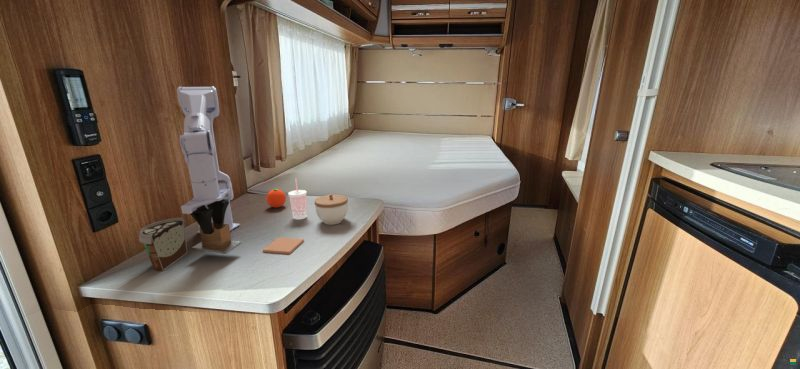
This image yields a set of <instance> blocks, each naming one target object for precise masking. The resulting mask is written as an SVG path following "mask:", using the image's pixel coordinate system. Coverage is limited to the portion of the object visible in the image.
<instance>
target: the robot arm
mask: <svg viewBox="0 0 800 369" xmlns="http://www.w3.org/2000/svg"><path fill="white" fill-rule="evenodd" d="M176 93H177V94H176V95H177V100H178V103H179V107H180V108H181V111H182V114H184V116H185V117H184V118H183V119H184V120H183V134H181V135H180V134H179V145H180V148H181V153H182V154H183V156H184V161H185V164H186V165H187V168H188V169H187V170H188V173H189V179H190V184H191V188H192V194H193V198H192V199H191V200H189V201H188V202H186V203H184V204H183V205H181V206H180V208H181V212H182V214H184V215H190V216H191V217H192V218H193V219H194V220H195V221H196V222H197V225H198V231H197V233H198V234H200V229H199V227H200V228H201V229H202V231H203V233H204V234H212V231H213V229H212V222H213V223H222V224H229V228H230V232H231V231H232V230H235V229H236V228H237V227H238V228H239V226H241V224H240V223H237V222H236V223H235V222H234V219H233V215H232V209H231V202H230V201H233V199H234V190H233V184H232V181H231V177H230V176H229V175H228V174H226V173H224V172H222V171H221V170H220V165H219V160H218V153H217V148H216V147H217V146H216V140H215V134H214V127H213V126H214V119H216V118H217V117H218V116H220V105H219V104H220V103H219V98H218V97H219V96H218V91H217V88H216V87H215V86H213V85H212V86H178V87H177V89H176Z"/></svg>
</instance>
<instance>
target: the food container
mask: <svg viewBox="0 0 800 369" xmlns="http://www.w3.org/2000/svg"><path fill="white" fill-rule="evenodd" d="M185 225H186V221H185V219H184V218H183V217H174V218H168V219H164V220H160V221H156V222H153V223H150V224H148V225H146V226H144V227H142V228H141V230H140V231H139V235H138V236H139V238H138V241H139V242H140V243H141V244H143V245H144V248H145V250H146V253H147V255H148V258H149V260H150V263H151V266H152V269H153V270H154V271H158V272H159V271H160V272H164V271H165V270H167V269H168V268H169V267H171V266H172V265H173V264H175V263H176V262H177V261H179V260H181V259H182V258H183V257H184V256H186V255H187V254H189V252H188V246H187V244H188V243H187V238H186V237H187V236H186V230H185Z"/></svg>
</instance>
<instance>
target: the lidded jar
mask: <svg viewBox="0 0 800 369" xmlns="http://www.w3.org/2000/svg"><path fill="white" fill-rule="evenodd" d="M348 201H349V200H348V197H347V195H342V194H333V193H332V194H331V193H330V194H327V195H326V194H325V195H322V196H319V197H316V199H315V200H314V201H313V202H314V205H315V212H316V215H317V217H318V218H319V220H320V221H321V222H323V223H324V225H337V224H340V223H342V222H343V220H344V219H345V217H346V216H347V213H348V207H349V206H348V205H349V203H348Z"/></svg>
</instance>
